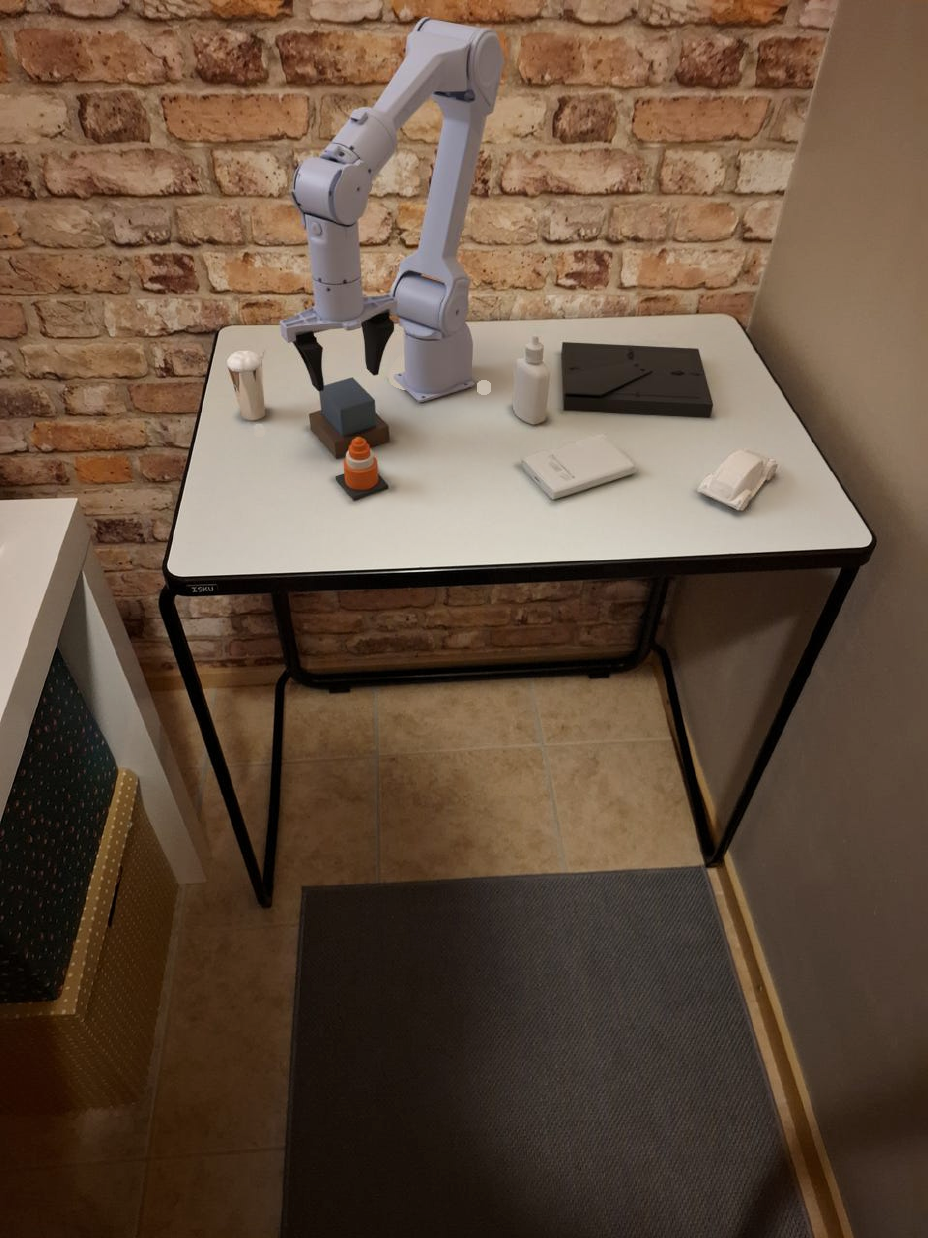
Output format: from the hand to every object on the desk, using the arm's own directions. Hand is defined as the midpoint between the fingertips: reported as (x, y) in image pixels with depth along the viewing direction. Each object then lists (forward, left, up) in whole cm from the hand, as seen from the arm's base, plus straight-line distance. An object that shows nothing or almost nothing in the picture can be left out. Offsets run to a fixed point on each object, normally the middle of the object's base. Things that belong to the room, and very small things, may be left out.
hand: (345, 379), depth 108 cm
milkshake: (+8, -12, -10) cm, 18 cm away
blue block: (-1, -1, -7) cm, 7 cm away
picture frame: (-43, +8, -10) cm, 44 cm away
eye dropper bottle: (-25, +7, -10) cm, 27 cm away
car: (-39, +34, -10) cm, 52 cm away
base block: (-1, -1, -9) cm, 10 cm away
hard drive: (-23, +21, -10) cm, 32 cm away
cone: (+3, +9, -9) cm, 13 cm away
